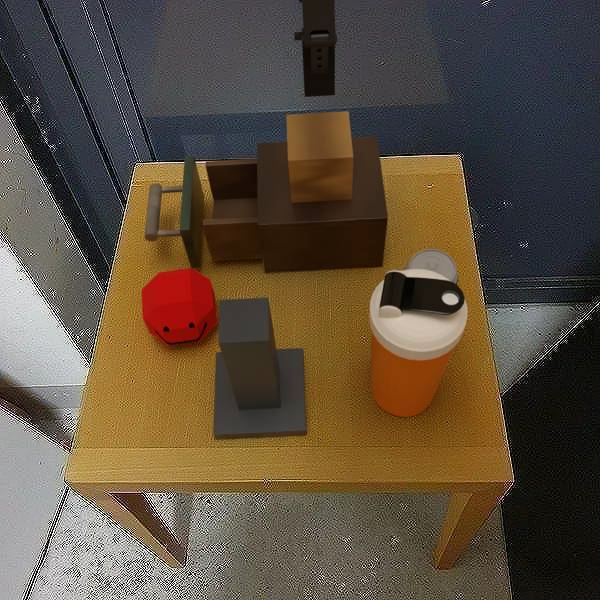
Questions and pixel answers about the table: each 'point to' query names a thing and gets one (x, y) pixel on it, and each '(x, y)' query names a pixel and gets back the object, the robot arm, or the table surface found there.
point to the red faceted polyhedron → (179, 306)
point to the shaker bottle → (413, 337)
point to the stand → (256, 376)
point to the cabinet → (321, 215)
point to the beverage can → (434, 263)
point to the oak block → (320, 156)
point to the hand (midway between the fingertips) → (315, 44)
